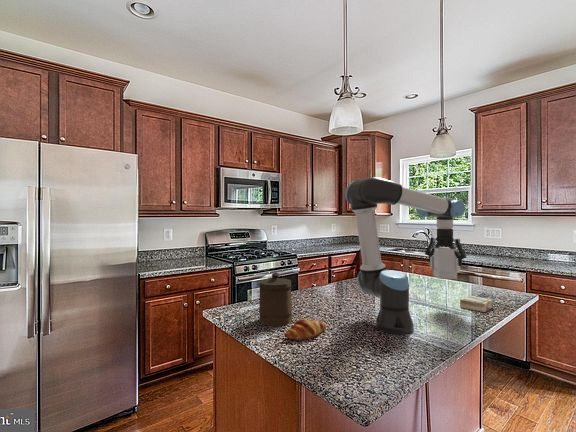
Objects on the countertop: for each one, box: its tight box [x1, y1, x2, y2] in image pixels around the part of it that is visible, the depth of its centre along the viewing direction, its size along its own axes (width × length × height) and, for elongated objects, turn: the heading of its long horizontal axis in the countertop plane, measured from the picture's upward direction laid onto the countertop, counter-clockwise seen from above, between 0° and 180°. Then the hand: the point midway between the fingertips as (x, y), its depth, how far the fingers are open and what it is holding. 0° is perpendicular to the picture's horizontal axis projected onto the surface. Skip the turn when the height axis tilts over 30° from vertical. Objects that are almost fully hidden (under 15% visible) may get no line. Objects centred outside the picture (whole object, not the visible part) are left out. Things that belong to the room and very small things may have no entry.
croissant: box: [284, 318, 328, 341], centre depth 127 cm, size 21×10×8 cm, turn 126°
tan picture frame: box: [459, 295, 493, 313], centre depth 159 cm, size 11×11×4 cm
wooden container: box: [258, 272, 293, 327], centre depth 143 cm, size 15×15×22 cm
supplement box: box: [432, 246, 458, 280], centre depth 159 cm, size 9×9×15 cm
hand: (444, 270), depth 159 cm, fingers closed on supplement box, 12 cm apart
